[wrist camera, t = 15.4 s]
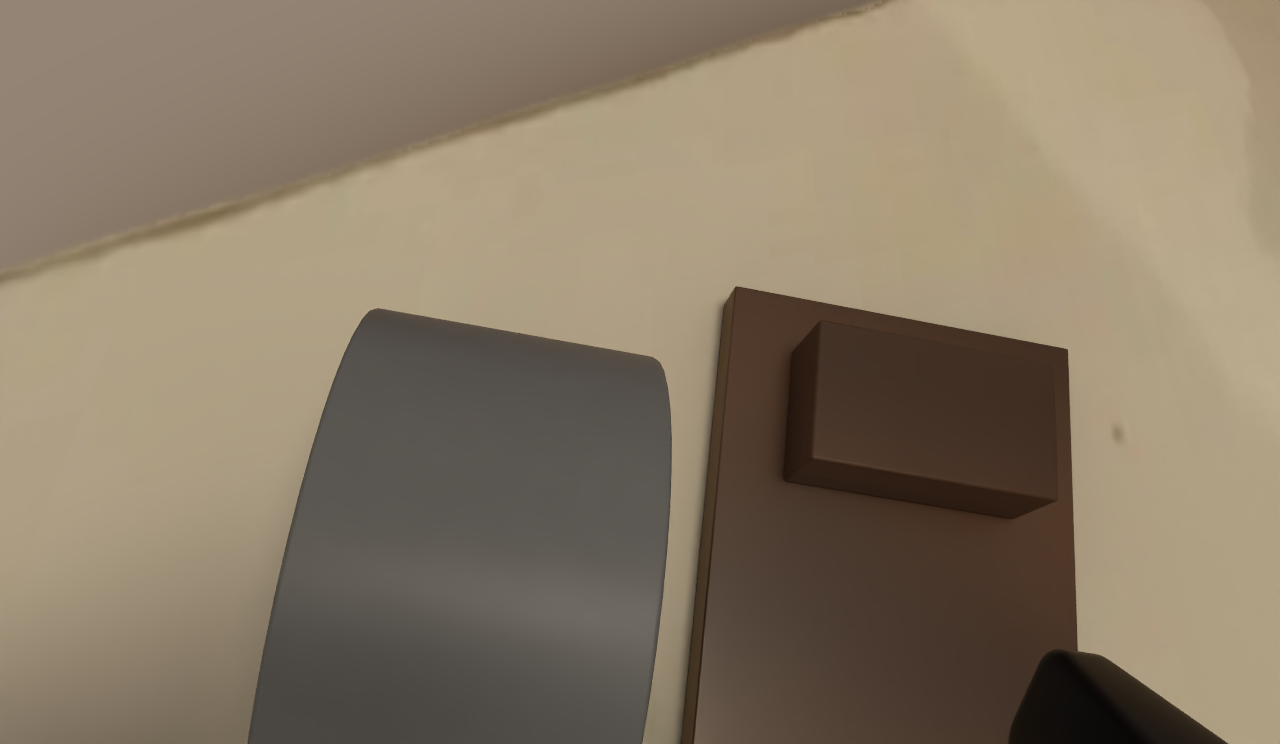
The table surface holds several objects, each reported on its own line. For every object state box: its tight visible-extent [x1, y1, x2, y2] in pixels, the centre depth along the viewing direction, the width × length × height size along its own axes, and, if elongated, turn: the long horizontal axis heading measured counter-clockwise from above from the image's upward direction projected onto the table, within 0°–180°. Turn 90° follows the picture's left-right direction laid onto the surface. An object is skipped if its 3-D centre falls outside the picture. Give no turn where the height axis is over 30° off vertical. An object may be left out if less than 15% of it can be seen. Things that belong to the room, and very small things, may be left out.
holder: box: [681, 287, 1078, 744], centre depth 21 cm, size 16×8×3 cm, turn 173°
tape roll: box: [247, 308, 672, 744], centre depth 17 cm, size 9×4×9 cm, turn 173°
